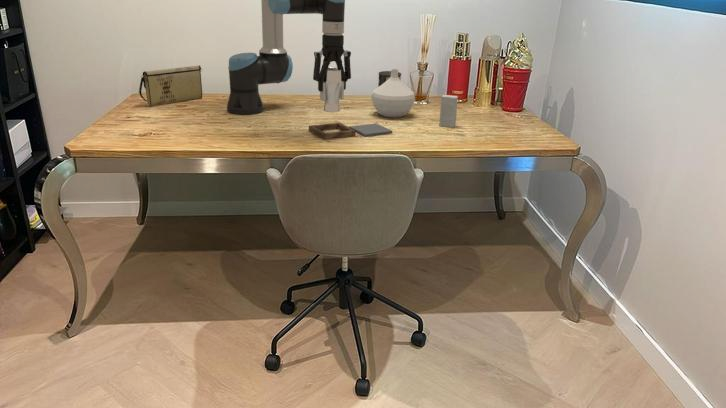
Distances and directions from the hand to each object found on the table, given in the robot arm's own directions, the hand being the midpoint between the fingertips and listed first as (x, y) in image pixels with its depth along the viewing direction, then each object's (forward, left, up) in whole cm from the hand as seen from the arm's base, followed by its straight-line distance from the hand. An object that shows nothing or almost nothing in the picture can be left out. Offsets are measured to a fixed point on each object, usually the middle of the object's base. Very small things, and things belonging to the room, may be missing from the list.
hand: (331, 99), depth 199 cm
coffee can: (+47, +35, -13) cm, 60 cm away
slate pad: (+15, -3, -13) cm, 20 cm away
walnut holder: (0, 0, -13) cm, 13 cm away
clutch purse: (-42, +74, -13) cm, 86 cm away
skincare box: (+48, -8, -13) cm, 50 cm away
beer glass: (0, 0, -4) cm, 4 cm away
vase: (+37, +16, -13) cm, 42 cm away
